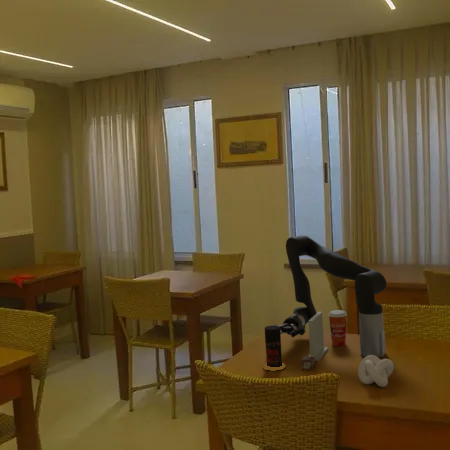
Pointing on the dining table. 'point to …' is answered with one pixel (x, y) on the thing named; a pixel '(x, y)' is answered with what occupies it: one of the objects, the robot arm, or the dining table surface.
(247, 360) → the dining table surface
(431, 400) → the dining table surface
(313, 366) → the letter cube
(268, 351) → the deodorant
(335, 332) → the paper cup
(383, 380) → the white knot sculpture
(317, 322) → the screen
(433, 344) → the dining table surface
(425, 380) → the dining table surface
